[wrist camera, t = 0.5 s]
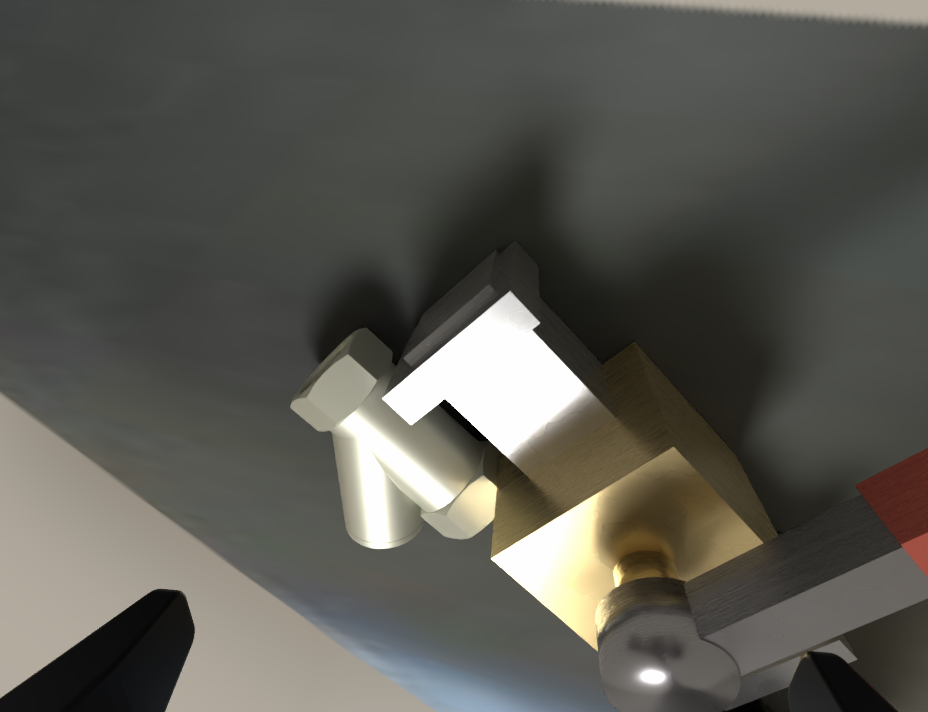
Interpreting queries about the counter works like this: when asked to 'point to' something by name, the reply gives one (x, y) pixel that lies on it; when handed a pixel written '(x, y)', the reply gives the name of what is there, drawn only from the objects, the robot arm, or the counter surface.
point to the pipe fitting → (395, 452)
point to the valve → (583, 453)
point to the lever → (767, 599)
